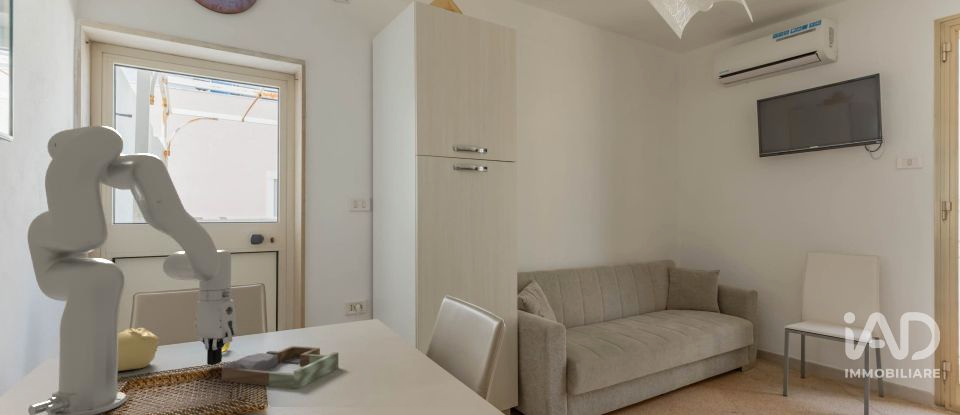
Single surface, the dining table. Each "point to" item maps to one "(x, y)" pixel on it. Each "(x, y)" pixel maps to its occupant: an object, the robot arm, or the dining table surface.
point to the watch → (225, 347)
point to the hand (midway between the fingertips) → (214, 363)
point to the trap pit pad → (292, 360)
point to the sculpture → (136, 348)
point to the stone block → (255, 362)
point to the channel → (311, 371)
